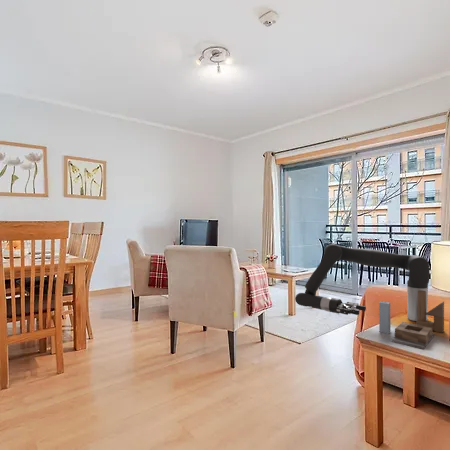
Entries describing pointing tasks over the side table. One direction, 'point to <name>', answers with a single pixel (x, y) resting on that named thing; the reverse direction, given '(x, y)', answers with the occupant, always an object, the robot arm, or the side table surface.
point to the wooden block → (436, 312)
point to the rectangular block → (384, 317)
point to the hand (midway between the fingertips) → (362, 310)
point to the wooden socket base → (413, 335)
